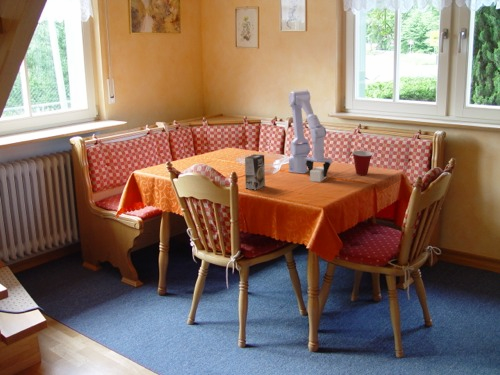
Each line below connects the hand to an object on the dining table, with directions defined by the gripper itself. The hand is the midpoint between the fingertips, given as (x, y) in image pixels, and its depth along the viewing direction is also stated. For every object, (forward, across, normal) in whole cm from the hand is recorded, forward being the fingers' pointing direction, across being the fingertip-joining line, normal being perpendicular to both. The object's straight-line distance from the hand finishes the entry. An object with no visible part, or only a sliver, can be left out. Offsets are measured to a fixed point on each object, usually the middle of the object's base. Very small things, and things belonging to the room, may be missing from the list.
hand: (318, 175), depth 324 cm
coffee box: (+2, -24, -25) cm, 35 cm away
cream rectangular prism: (+2, 0, 0) cm, 2 cm away
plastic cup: (+2, +18, +18) cm, 25 cm away
